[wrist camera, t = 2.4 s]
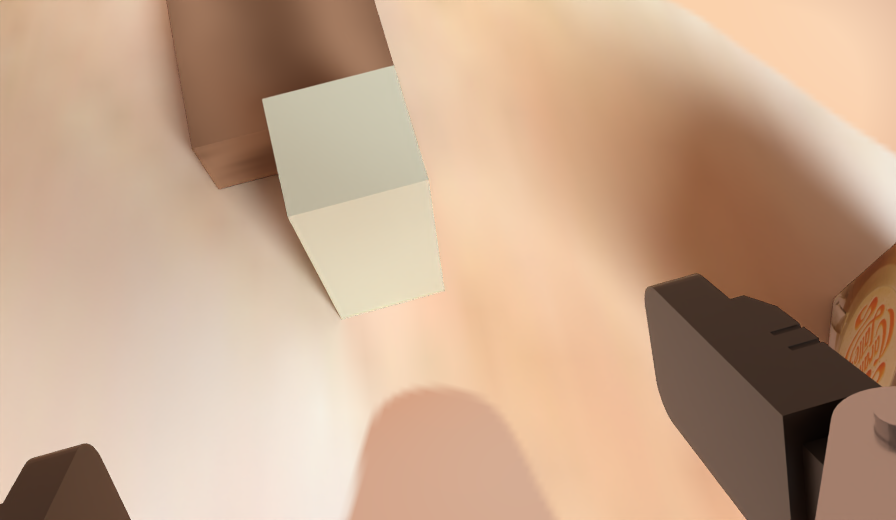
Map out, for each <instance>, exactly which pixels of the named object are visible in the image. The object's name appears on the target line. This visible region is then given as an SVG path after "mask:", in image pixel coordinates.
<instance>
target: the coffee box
mask: <svg viewBox="0 0 896 520" xmlns="http://www.w3.org/2000/svg"><path fill="white" fill-rule="evenodd" d="M829 346H830V347H831V348H832V349H834V350H835V351H836V352H837V353H839V354H840V355H841V356H843V357H844V358H845V359H847V360H848V361H849V362H851V363H852V364H853V365H854V366H856V367H857V368H858V369H860V370H861V371H862V372H864V373H865V374H866V375H868V376H869V377H870V378H872V379H873V380H874V381H875V382H877V383H878V384H879V385H881V386H882V387H889V386H896V243H895V244H894V245H893V246H892V247H891V248H890V249H889V250H887V251H886V252H885V253H884V254H883V255H882V256H881V257H879V258H878V259H877V260H876V261H875V262H874V263H873V264H871V265H870V266H869V267H868V268H867V269H866V270H865V271H864V272H863V273H862V274H860V275H859V276H858V277H857V278H856V279H855V280H854V281H853V282H851V283H850V284H849V285H848V286H847V287H846V288H845V289H843V290H842V291H841V292H840V293H839V294H838V295H837V296H836V297H835V298H834V302H833V310H832V318H831V326H830V336H829Z"/></svg>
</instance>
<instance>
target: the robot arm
mask: <svg viewBox="0 0 896 520" xmlns="http://www.w3.org/2000/svg"><path fill="white" fill-rule="evenodd" d="M645 307H646V314H647V321H648V328H649V334H650V341H651V348H652V354H653V361H654V368H655V375H656V381H657V386H658V390H659V393H660V396H661V399H662V402H663V405H664V407H665V409H666V412H667V413H668V415H669V417H670V419H671V421H672V422H673V424H674V425H675V426H676V428H677V429H678V430H679V431H680V433H681V434H682V435H683V437H684V438H685V439H686V441H687V442H688V443H689V445H690V446H691V447H692V449H693V450H694V451H695V452H696V454H697V455H698V456H699V458H700V459H701V460H702V462H703V463H704V464H705V466H706V467H707V468H708V470H709V471H710V472H711V473H712V475H713V476H714V477H715V479H716V480H717V481H718V483H719V484H720V485H721V487H722V488H723V489H724V490H725V492H726V493H727V494H728V496H729V497H730V498H731V500H732V501H733V502H734V504H735V505H736V506H737V508H738V509H739V510H740V511H741V513H742V514H743V515H744V517H745V518H746V519H747V520H896V386H889V387H882V386H881V385H879V384H878V383H877V382H875V381H874V380H873V379H872V378H870V377H869V376H868V375H866V374H865V373H864V372H862V371H861V370H860V369H858V368H857V367H856V366H854V365H853V364H852V363H851V362H849V361H848V360H847V359H845V358H844V357H843V356H841V355H840V354H839V353H837V352H836V351H835V350H834V349H832V348H831V347H830V346H828V345H827V344H826V343H824V342H821V343H820V341H819V338H818V337H816V336H815V335H814V334H813V333H811V332H810V331H809V330H807V329H806V328H805V327H803V328H801V327H800V324H799V323H798V322H797V321H795V320H794V319H793V318H792V317H790V316H789V315H788V314H786V313H785V312H784V311H782V310H781V309H780V308H778V307H777V306H774V305H771V304H768V303H765V302H762V301H759V300H756V299H753V298H750V297H747V296H744V295H743V296H740V297H736V298H733V299H729V298H728V297H727V296H726V295H725V294H723V293H722V292H721V291H720V290H719V289H717V288H716V287H715V286H714V285H713V284H711V283H710V282H709V281H708V280H706V279H705V278H704V277H703V276H701V275H700V274H693V275H689V276H685V277H682V278H678V279H675V280H671V281H668V282H664V283H660V284H657V285H653V286H650V287H648V288H647V289H646V291H645ZM0 520H131V519H130V517H129V515H128V513H127V511H126V509H125V507H124V505H123V502H122V500H121V498H120V496H119V494H118V492H117V490H116V488H115V486H114V484H113V482H112V480H111V477H110V475H109V473H108V471H107V469H106V467H105V465H104V463H103V461H102V459H101V457H100V455H99V453H98V452H97V450H96V449H95V448H94V447H93V446H91V445H90V444H81V445H77V446H74V447H70V448H67V449H63V450H59V451H56V452H52V453H49V454H45V455H42V456H38V457H34V458H32V459H30V460H28V461H27V463H26V464H25V465H24V467H23V469H22V471H21V472H20V474H19V476H18V478H17V479H16V481H15V483H14V485H13V486H12V488H11V490H10V492H9V493H8V495H7V497H6V499H5V500H4V502H3V503H2V504H0Z"/></svg>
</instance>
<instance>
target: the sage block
mask: <svg viewBox="0 0 896 520" xmlns="http://www.w3.org/2000/svg"><path fill="white" fill-rule="evenodd" d="M262 102H263V107H264V111H265V116H266V120H267V125H268V129H269V134H270V138H271V143H272V148H273V152H274V157H275V161H276V166H277V170H278V175H279V180H280V184H281V189H282V193H283V198H284V202H285V207H286V212H287V216H288V219H289V221H290V222H291V224H292V226H293V228H294V230H295V232H296V234H297V236H298V238H299V239H300V241H301V243H302V245H303V247H304V249H305V251H306V253H307V255H308V257H309V258H310V260H311V262H312V264H313V266H314V268H315V270H316V272H317V274H318V275H319V277H320V279H321V281H322V283H323V285H324V287H325V289H326V291H327V293H328V294H329V296H330V298H331V300H332V302H333V304H334V306H335V308H336V310H337V311H338V313H339V315H340V317H341V319H345V318H349V317H352V316H356V315H360V314H363V313H367V312H370V311H374V310H378V309H381V308H385V307H389V306H392V305H396V304H400V303H403V302H407V301H410V300H414V299H418V298H421V297H425V296H429V295H432V294H436V293H440V292H443V291H444V284H443V277H442V270H441V263H440V256H439V249H438V242H437V235H436V227H435V220H434V213H433V206H432V199H431V192H430V185H429V179H428V176H427V172H426V169H425V166H424V163H423V159H422V156H421V153H420V149H419V146H418V143H417V139H416V136H415V133H414V130H413V126H412V123H411V120H410V116H409V113H408V110H407V106H406V103H405V100H404V97H403V93H402V90H401V87H400V83H399V80H398V77H397V74H396V70H395V67H394V65H393V66H389V67H385V68H381V69H378V70H374V71H370V72H366V73H362V74H358V75H354V76H350V77H346V78H342V79H338V80H335V81H331V82H327V83H323V84H319V85H315V86H311V87H307V88H303V89H299V90H295V91H292V92H288V93H284V94H280V95H276V96H272V97H268V98H264V99H262Z"/></svg>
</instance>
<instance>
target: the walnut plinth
mask: <svg viewBox="0 0 896 520" xmlns="http://www.w3.org/2000/svg"><path fill="white" fill-rule="evenodd" d="M166 1H167V7H168V13H169V19H170V24H171V30H172V36H173V42H174V48H175V53H176V59H177V65H178V71H179V77H180V82H181V88H182V94H183V100H184V106H185V111H186V117H187V123H188V129H189V135H190V140H191V146H192V149H193V151H194V152H195V154H196V156H197V157H198V159H199V160H200V162H201V163H202V165H203V166H204V168H205V169H206V171H207V172H208V174H209V175H210V177H211V178H212V180H213V181H214V183H215V184H216V186H217V187H218V189H222V188H226V187H229V186H233V185H237V184H241V183H245V182H248V181H252V180H256V179H260V178H264V177H268V176H271V175H275V174H278V170H277V166H276V161H275V157H274V152H273V148H272V143H271V138H270V134H269V129H268V125H267V120H266V116H265V111H264V107H263V102H262V99H264V98H268V97H272V96H276V95H280V94H284V93H288V92H292V91H295V90H299V89H303V88H307V87H311V86H315V85H319V84H323V83H327V82H331V81H335V80H338V79H342V78H346V77H350V76H354V75H358V74H362V73H366V72H370V71H374V70H378V69H381V68H385V67H389V66H393V65H394V64H393V61H392V58H391V55H390V51H389V48H388V45H387V41H386V38H385V35H384V31H383V28H382V25H381V22H380V18H379V15H378V12H377V8H376V5H375V2H374V0H166Z"/></svg>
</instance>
